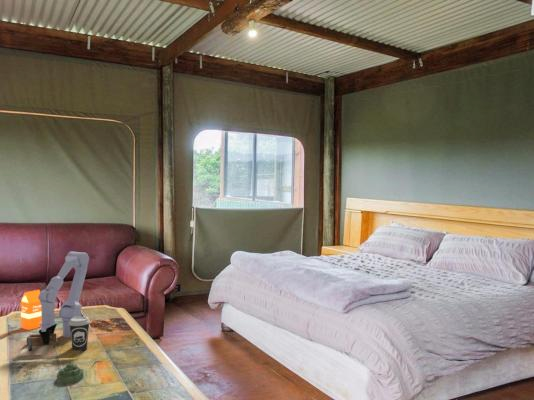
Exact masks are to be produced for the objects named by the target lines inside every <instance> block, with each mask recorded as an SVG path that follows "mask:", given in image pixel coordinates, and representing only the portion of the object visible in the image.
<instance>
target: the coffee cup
mask: <svg viewBox="0 0 534 400" xmlns="http://www.w3.org/2000/svg"><path fill="white" fill-rule="evenodd" d="M90 323H91V321H90V319H89V317H88V316H84V315H81V316H80V317H74V318H72V319H71V320H70V322H69V325H70V332H71V337H70V338H71V339H70V341H71V349H72V350H74V351H79V350H80V353H81V352H85V351H86V350H88V342H89V328H90Z"/></svg>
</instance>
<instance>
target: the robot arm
mask: <svg viewBox="0 0 534 400" xmlns="http://www.w3.org/2000/svg"><path fill="white" fill-rule="evenodd" d="M64 259H65V261H64V263H63V265H62V266H61V268H60V270H59V272H58V273H57V275H56V276H53V277H51V279H50V281H49V283H48V284H47V285H46V287H45V289H42V290H41V291H40V294H39V296H38V299H39V300H40V304H41V320H42V323H39V325H41V327H40V329H39V330H38V334H40V335H41V337H42V340H43V343H44V344H49V339H50V334H54V333H55V331H56V328H57V325H58V324H57V323H55V301H56V300H57V299H58V294H59V291H60V289H61V287H62V286H63V284H64V278H66V277H67V275H68V273H70V271H71V270H72V269H74V270H75V272H74V276H73V279H72V282H71V286H70V290H69V294H68V298H67V300H66V301H64V302H63V303H62V305H61V307H60V309H59V311H58V312H59V313H58V315H59V318H61V321H62V337H64V338H71V332H70V325H69V322H70V320H71V319H72V318H74V317H80V316H82V305H81V303H80V302H79V301H80V299H81V298H80V297H81V294H82V291H83V287H84V283H85V280H86V279H85V278H86V276H87V275H86V274H87V271H88V265H89V262H90V256H89V255H88V253H87V252H82V251H81V252H79V251H73V250H72V251H69V252H68V253H67V254H66V256H65V258H64Z"/></svg>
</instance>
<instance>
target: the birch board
mask: <svg viewBox="0 0 534 400" xmlns="http://www.w3.org/2000/svg"><path fill="white" fill-rule="evenodd" d="M58 341H59V339H56V342H55V343H54V345H45V346H32V351H28V346H27V345H25V346H24V347H23V349H21V350H20V352H19V353H18V354H17V355H16V356H17V357H19V356H21V357H22V356H38V355H40V356H41V355H42V356H43V355H47V354H48V353H49V352H50V351H51V350H52V349H53V347H54V346H55V345H56V343H57V342H58Z"/></svg>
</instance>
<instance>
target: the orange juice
mask: <svg viewBox="0 0 534 400" xmlns="http://www.w3.org/2000/svg"><path fill="white" fill-rule="evenodd" d="M40 292H41V291H40V289H36V290H29V291H25V292H24V294H23V296H22V298H21V301H20V323H21V324H20V325H21V326H20V328H21V329H25V330H33V329H37V328H42V327H41V325H39V323H42V320H41V304H40V300H39V299H38V296H39V294H40Z"/></svg>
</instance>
